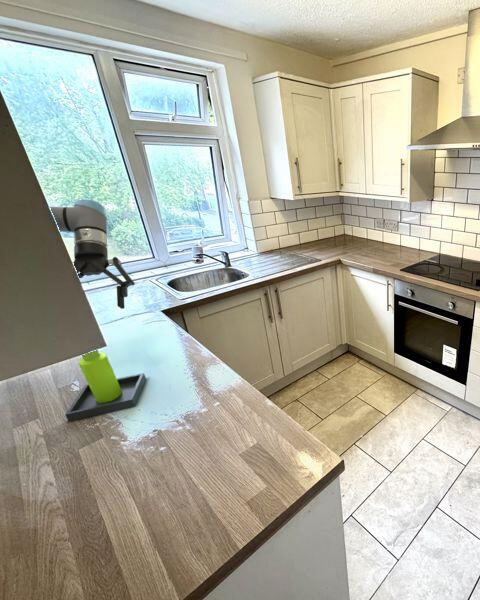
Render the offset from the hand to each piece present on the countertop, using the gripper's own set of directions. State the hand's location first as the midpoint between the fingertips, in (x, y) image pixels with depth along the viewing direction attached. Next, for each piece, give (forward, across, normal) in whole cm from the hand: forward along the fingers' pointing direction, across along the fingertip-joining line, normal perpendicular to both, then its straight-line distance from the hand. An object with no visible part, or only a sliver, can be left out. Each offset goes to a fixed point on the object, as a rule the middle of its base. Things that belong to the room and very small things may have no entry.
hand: (92, 311), depth 96 cm
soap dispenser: (+25, +1, +6) cm, 26 cm away
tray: (+25, +1, +7) cm, 26 cm away
